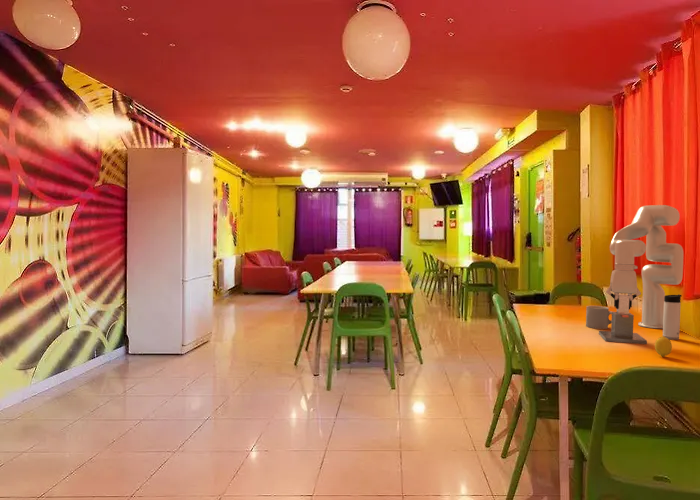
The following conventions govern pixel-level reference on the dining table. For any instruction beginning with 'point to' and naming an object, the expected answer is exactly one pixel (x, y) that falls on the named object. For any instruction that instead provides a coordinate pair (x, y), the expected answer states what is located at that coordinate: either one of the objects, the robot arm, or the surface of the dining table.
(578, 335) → the dining table surface
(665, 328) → the travel mug
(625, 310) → the steel post
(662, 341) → the lemon
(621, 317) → the post stand
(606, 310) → the coffee mug
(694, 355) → the dining table surface
